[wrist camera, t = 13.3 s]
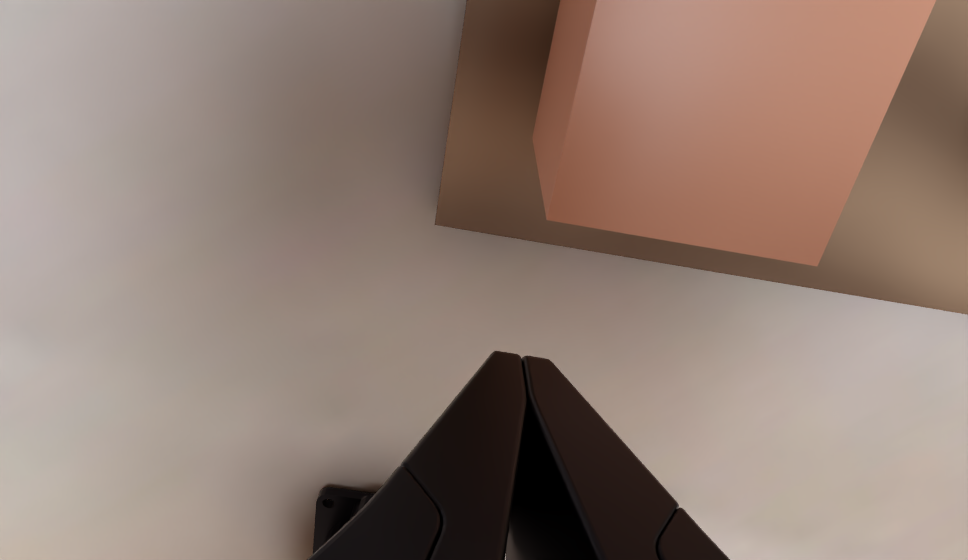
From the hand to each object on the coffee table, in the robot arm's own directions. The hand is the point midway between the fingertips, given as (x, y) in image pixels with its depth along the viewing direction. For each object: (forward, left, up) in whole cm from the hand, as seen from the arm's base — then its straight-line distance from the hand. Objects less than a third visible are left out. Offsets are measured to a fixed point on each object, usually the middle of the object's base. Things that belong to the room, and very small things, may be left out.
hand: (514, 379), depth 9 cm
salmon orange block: (+4, -3, -10) cm, 11 cm away
